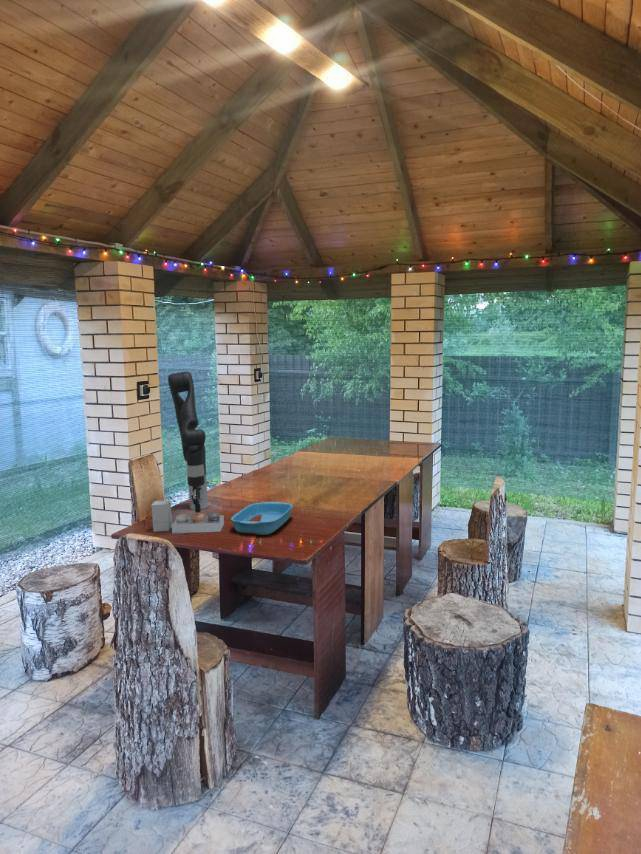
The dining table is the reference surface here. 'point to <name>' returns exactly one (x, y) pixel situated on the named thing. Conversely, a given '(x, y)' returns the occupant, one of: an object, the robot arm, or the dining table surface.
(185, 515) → the grey oval piece
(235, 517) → the casserole dish
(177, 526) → the mount
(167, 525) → the supplement box
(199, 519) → the tan egg
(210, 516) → the knob
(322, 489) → the dining table surface
